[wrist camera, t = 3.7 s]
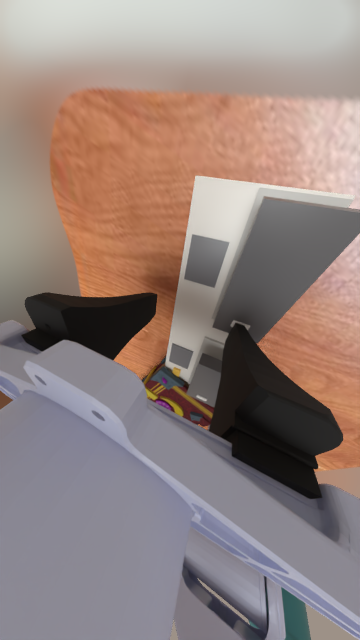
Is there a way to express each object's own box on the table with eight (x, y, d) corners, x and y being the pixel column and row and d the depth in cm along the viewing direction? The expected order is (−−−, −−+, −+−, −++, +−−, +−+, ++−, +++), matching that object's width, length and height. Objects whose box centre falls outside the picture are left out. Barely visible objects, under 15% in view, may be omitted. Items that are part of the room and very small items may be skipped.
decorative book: (229, 390, 22) (226, 425, 18) (178, 410, 32) (169, 435, 28) (173, 347, 21) (158, 372, 17) (140, 381, 31) (125, 402, 27)
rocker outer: (359, 209, 5) (377, 215, 5) (257, 332, 11) (257, 344, 10) (263, 196, 6) (263, 198, 5) (215, 317, 12) (211, 328, 11)
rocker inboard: (241, 368, 12) (240, 382, 11) (215, 397, 17) (213, 408, 17) (202, 352, 13) (198, 364, 12) (189, 385, 18) (185, 394, 17)
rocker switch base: (325, 205, 9) (360, 194, 6) (220, 377, 20) (217, 398, 18) (206, 188, 10) (194, 173, 8) (172, 356, 22) (163, 372, 19)
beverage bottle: (290, 457, 24) (379, 867, 9) (261, 458, 28) (284, 738, 13) (259, 436, 24) (291, 801, 9) (234, 440, 29) (226, 694, 13)
